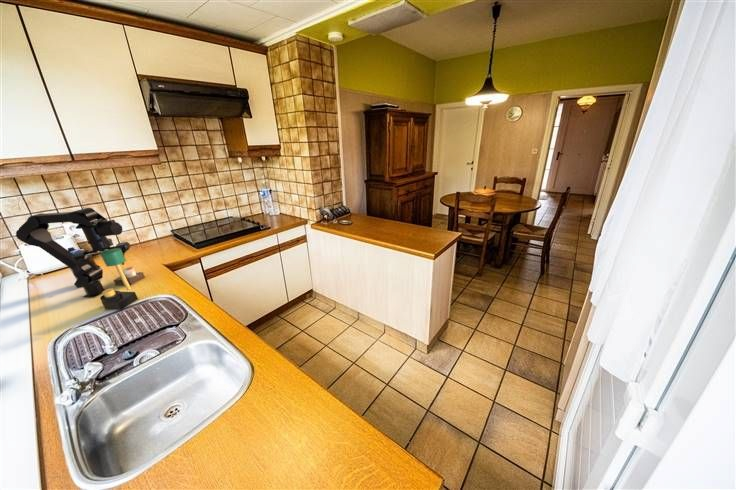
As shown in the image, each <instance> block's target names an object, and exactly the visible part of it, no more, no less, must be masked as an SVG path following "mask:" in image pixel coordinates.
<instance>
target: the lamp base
mask: <svg viewBox="0 0 736 490" xmlns="http://www.w3.org/2000/svg"><path fill="white" fill-rule="evenodd" d="M114 291H115V293H116V294H115V295H114V296H111V297H108V298H105V297H104V295H103V294H102V295H101V296H100V297H99V299H100V301H101V305H102V306H103V308H104V310H105V311H108V310H109V311H111V310H112V311H113V310H114V311H115V310H116V311H123V310H125V309H126V308H127V307H128V306H130V305H131V304H133V303H134V302H136V301H137V300H139V298H138V296H137V294H136V292H135V291H120V290H114Z"/></svg>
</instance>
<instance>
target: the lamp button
mask: <svg viewBox="0 0 736 490" xmlns="http://www.w3.org/2000/svg"><path fill="white" fill-rule="evenodd" d="M106 289H107V290H105V291H103V292H102V296H103V295H104V297H105V298H108V297H111V296H114V295H115V294H116V293H115V291H116V290H115V289H114V288H106Z"/></svg>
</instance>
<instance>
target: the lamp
mask: <svg viewBox="0 0 736 490" xmlns="http://www.w3.org/2000/svg"><path fill="white" fill-rule="evenodd" d="M100 257H101V258H102V260H103V262H104V265H105V266H106V267H114V266H115V269H116V270H117V272H118V275H119V277H121V279H122V281H123V283H124V285H123V286H124V287H125V290H126V291H131V289H132V288H131V285H129V283H128V281H127V279H126V277H125V275H124V273H123V271H122V270H123V269H122V267H121V265H122V263H124V264H125V262H126V261H127V260H126V258H125V254H124V255H123V253H122V251H121V249H120V248H115V249H110V250H106V251H104V252H102V253H100Z"/></svg>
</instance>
